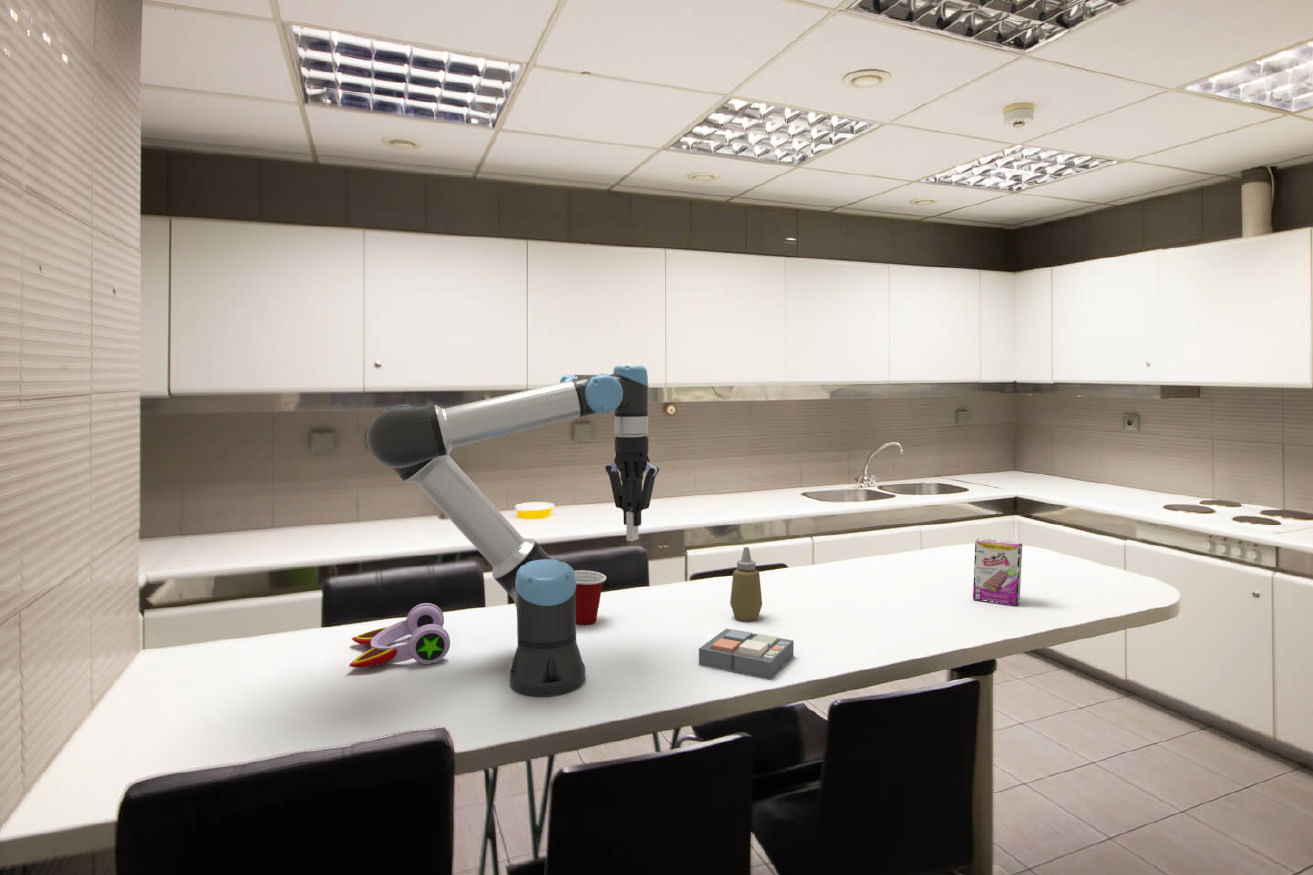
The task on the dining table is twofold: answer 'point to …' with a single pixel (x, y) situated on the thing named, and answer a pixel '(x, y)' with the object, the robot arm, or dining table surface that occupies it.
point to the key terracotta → (726, 645)
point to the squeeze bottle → (746, 589)
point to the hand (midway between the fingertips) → (632, 539)
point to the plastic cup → (587, 596)
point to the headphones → (423, 645)
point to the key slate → (738, 635)
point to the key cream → (753, 648)
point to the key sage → (766, 639)
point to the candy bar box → (997, 571)
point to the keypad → (747, 658)
